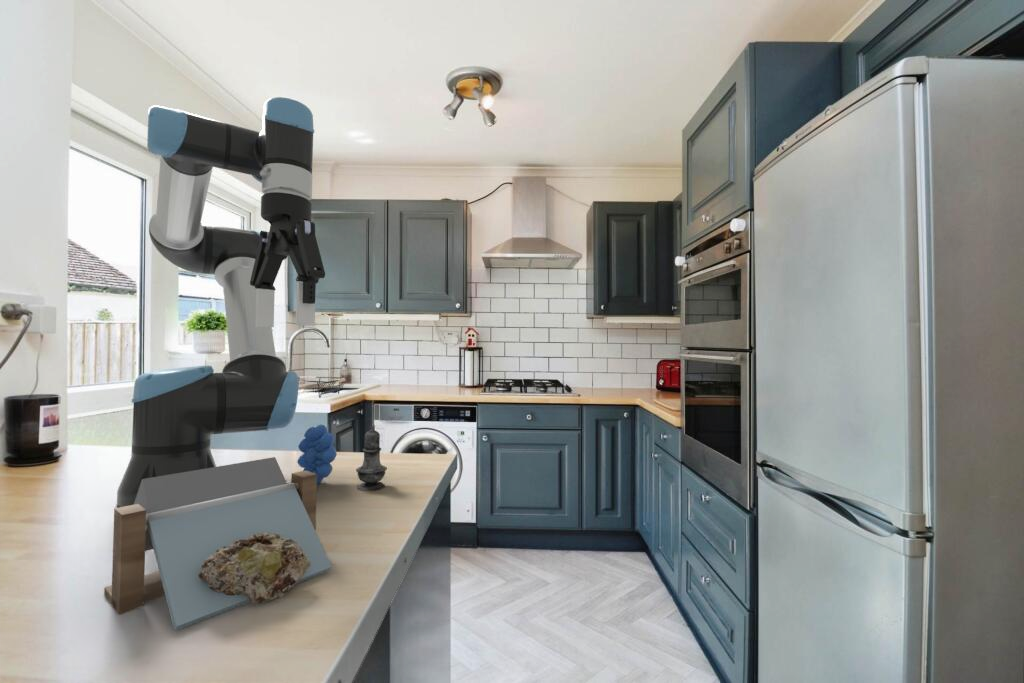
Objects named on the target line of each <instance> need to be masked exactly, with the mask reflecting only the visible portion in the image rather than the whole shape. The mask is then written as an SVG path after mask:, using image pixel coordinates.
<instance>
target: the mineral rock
mask: <svg viewBox="0 0 1024 683" xmlns="http://www.w3.org/2000/svg"><path fill="white" fill-rule="evenodd" d="M280 536H281V535H280V534H278V533H275V534H274V535H271V534H270V533H269V532H264V533H263V534H258V535H255V534H254V535H252V536H250V537H248V539H245V540H239V541H235V542H234V543H233V544H231V545H230V546H228V547H226V546H224V547H222V548H221V549H220V550H217V551H216V552H215V553H214V554H213V555H210V556H209V557H208V558H207V559H205V560H204V564H203V565H202V566H201V567H202V571H201V573H200V574H199V575H198V576H199V578H200V579H202V580H205V581H207V582H208V584H207V585H208V586H209V588H210V589H211V590H213V591H215V592H217V593H219V592H221V593H224V594H226V595H240V594H242V595H245V596H248V597H250V598H251V601H250V602H252V603H257V604H259V605H260V604H261V603H264V602H271V601H272V600H274V599H276V598H279V597H280V598H282V597H284V596H285V595H286V594H287V593H289V592H290V591H291V590H292V589H293V587H294V585H296V584H295V583H296V581H297V580H299V579H300V578H301V577H302V576H303V575H304V573H305V572H306V571H307V570H308V568H309V567H310V565H311V561H310V560H309V558H308V556H307V554H305V552H303V550H302V549H301V547H300V544H298V543H297V542H295V541H293V540H292V539H290V538H287V539H282V538H280Z"/></svg>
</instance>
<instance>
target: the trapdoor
mask: <svg viewBox="0 0 1024 683" xmlns="http://www.w3.org/2000/svg"><path fill="white" fill-rule="evenodd" d="M134 504H139V505H140V506H142V507H143V508H144V509H146V535H145V552H147V551H150V550H151V551H152V550H153V553H154V557H155V560H156V564H157V568H158V571H159V572H160V576H161V580H162V584H163V588H164V592H165V595H164V596H165V598H166V603H167V606H168V610H169V615H170V618H171V623H172V626H173V629H174V630H173V631H178V630H180V629H183V628H186V627H188V626H191V625H194V624H196V623H198V622H202V621H204V620H207V619H209V618H211V617H214V616H217V615H219V614H222V613H225V612H227V611H229V610H230V611H231V610H232V609H234V608H238V607H239V606H242V605H245V604H248V603H250V602H252V601H251V598H250V597H248V596H245V595H242V594H240V595H226V594H224V593H221V592H219V593H217V592H215V591H213V590H211V589H210V588H209V586H208V585H207V584H208V582H207V581H205V580H202V579H200V578H199V576H198V575H199V574H200V573H201V571H202V567H201V566H202V565H203V564H204V560H205V559H207V558H208V557H209V556H210V555H213V554H214V553H215V552H216V551H217V550H220V549H221V548H222V547H224V546H226V547H228V546H230V545H231V544H233V543H234V542H235V541H239V540H245V539H248V537H250V536H252V535H254V534H255V535H258V534H263V533H264V532H269V533H270V534H271V535H274V534H275V533H278V534H280V535H281V536H280V538H282V539H287V538H290V539H292V540H293V541H295V542H297V543H298V544H300V547H301V549H302V550H303V552H305V554H307V556H308V558H309V560H310V561H311V565H310V567H309V568H308V570H307V571H306V572H305V573H304V575H303V576H302V577H301V578H300V579H299V580H297V581H296V583H295V584H294V585H296V584H298V583H301V582H304V581H306V580H309V579H312V578H314V577H316V576H319V575H322V574H324V573H325V574H326V573H327V572H329V571H330V570H332V568H333V567H332V564H331V561H330V560H329V557H328V555H327V553H326V550H325V548H324V547H323V545H322V542H321V539H320V538H319V536H318V534H317V532H316V531H317V530H316V531H315V529H314V527H313V525H312V522H311V520H310V518H309V516H308V514H307V512H306V509H305V507H304V505H303V503H302V501H301V499H300V497H299V494H298V492H297V490H296V488H295V484H294V483H291V482H289V483H287V480H286V478H285V476H284V474H283V471H282V469H281V466H280V464H279V463H278V460H277V458H276V457H275V456H272V457H267V458H261V459H255V460H249V461H243V462H238V463H237V462H236V463H231V464H230V463H229V464H225V465H219V466H216V467H212V468H206V469H200V470H194V471H188V472H182V473H176V474H170V475H164V476H158V477H152V478H146V479H142V481H141V484H140V487H139V490H138V493H137V496H136V499H135V502H134Z"/></svg>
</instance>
